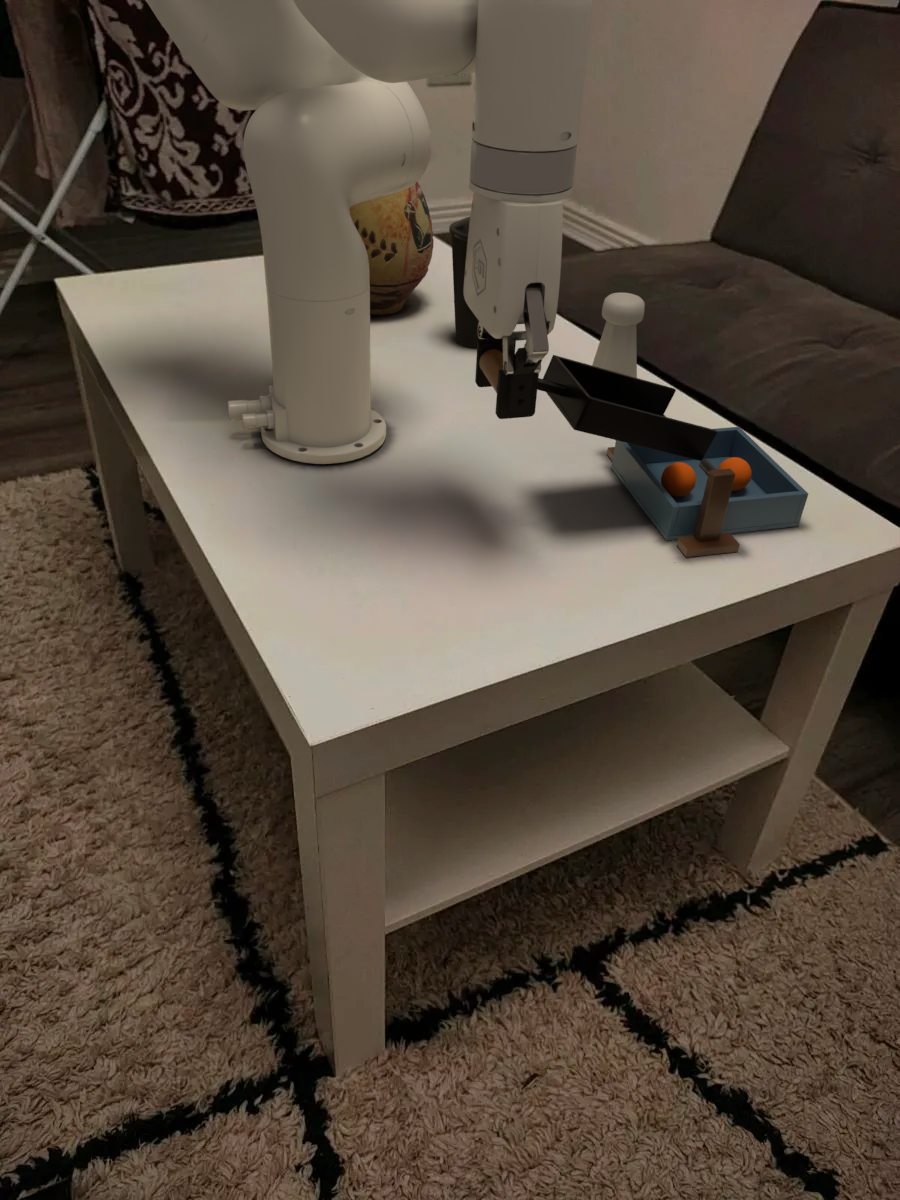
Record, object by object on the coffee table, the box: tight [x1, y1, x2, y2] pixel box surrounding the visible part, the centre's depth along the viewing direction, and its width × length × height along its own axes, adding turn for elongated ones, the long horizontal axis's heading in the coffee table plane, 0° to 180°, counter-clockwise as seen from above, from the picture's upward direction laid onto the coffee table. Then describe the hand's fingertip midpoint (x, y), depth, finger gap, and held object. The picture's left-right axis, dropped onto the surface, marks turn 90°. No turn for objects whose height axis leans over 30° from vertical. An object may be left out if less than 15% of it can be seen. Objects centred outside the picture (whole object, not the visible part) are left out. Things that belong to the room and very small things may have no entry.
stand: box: [606, 446, 740, 558], centre depth 89 cm, size 5×19×7 cm, turn 14°
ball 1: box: [661, 462, 696, 497], centre depth 90 cm, size 3×3×3 cm
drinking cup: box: [448, 216, 484, 349], centre depth 114 cm, size 8×8×20 cm
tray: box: [611, 426, 809, 541], centre depth 91 cm, size 13×13×4 cm
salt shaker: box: [591, 292, 646, 378], centre depth 101 cm, size 6×6×13 cm
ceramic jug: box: [350, 181, 435, 317], centre depth 120 cm, size 17×15×30 cm
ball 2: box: [717, 457, 752, 491], centre depth 91 cm, size 3×3×3 cm
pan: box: [479, 349, 717, 461], centre depth 82 cm, size 20×9×3 cm, turn 103°
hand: (504, 398), depth 80 cm, fingers closed on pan, 5 cm apart
